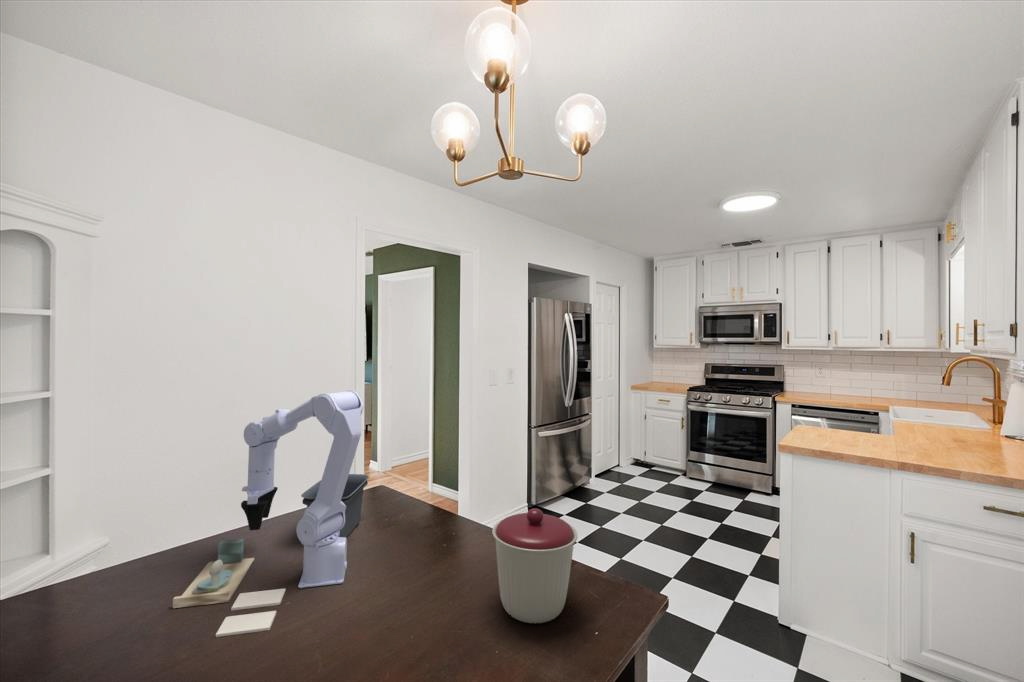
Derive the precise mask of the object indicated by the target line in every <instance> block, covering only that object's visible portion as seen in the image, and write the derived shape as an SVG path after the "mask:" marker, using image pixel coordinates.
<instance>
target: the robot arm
mask: <svg viewBox="0 0 1024 682" xmlns="http://www.w3.org/2000/svg"><path fill="white" fill-rule="evenodd" d="M364 406H365V405H364V403H363V401H362V399H361V396H360V395H359V393H357V392H356V391H355V390H352V389H351V390H345V391H340V392H339V391H338V392H332V393H331V392H330V393H327V392H326V393H319V394H318V395H315V396H312V397H311V398H310V399H308V400H307V401H305V402H303V403H302V404H300V405H299V406H297V407H295V408H293V409H292V410H290V409H288V408H286V409H285V408H278V409H276V410H275V411H274V412H275V413H274V414H272V415H269V416H264V417H263V418H262V420H261V421H257V422H255V421H254V422H249V423H248V424H247V425H246V426H245V427H244V430H243V439H244V440H243V441H244V442H245V443H246V445H247V446H248V459H247V460H248V461H247V462H248V463H247V464H248V465H247V485H246V486H243V487H242V488H241V491H242V492H246V494H247V500H242V501H241V502H240V506H241V507H240V508H241V509H242V510H243V512H244V514H245V516H246V519H247V524H248V529H249V530H250V531H259V530H260V529H261V527H262V525H263V524H262V523H263V519H266V518H267V519H268V518H269V515H270V511H271V509H272V504H273V500H274V497H275V495H276V493H277V492H278V488H279V487H277V486H275V481H274V480H275V456H276V455H275V452H276V451H275V450H276V448H277V447H278V441H279V440H280V438H281V437H282V436H285V435H287V434H289V433H291V432H293V431H295V430H296V429H297V428H298V425H299V423H301V422H302V421H303V422H304V421H305V420H307V419H309V418H312V417H313V418H314V417H315V418H316V420H317V421H318V422H319V423H320V424H321V425H322V427H324V429H325V430H326V431H327V433H329V434H331V435H332V436H333V439H332V443H331V446H330V451H329V454H328V455H327V459H326V463H325V467H324V471H323V473H322V476H321V483H320V486H319V490H318V493H317V496H316V499H315V501H314V502H313V503H312V504H311V505H310V506H309V507H308V508H307V507H306V509H305V510H304V512H303V516H302V517H301V519H300V520H298V522H297V525H296V536H297V538H298V540H299V542H300V543H301V545H303V564H302V565H303V567H302V569H303V571H302V575H301V578H300V581H299V583H298V586H297V587H298V588H299V589H303V588H304V589H305V588H311V587H313V588H314V587H321V586H330V585H338V584H343V583H344V582H345V581H344V580H345V575H346V570H347V567H348V561H347V548H348V546H347V544H348V540H347V539H348V537H347V538H346V537H338V536H339V535H340V530H341V529H342V528H343V527H344V524H345V510H346V505H345V504H344V503H343V502H342V501H341V498H342V495H343V492H344V489H345V485H346V482H347V479H348V475H349V474H350V472H351V468H352V465H353V463H354V459H355V456H356V452H357V449H358V445H359V443H360V440H361V439H360V438H361V436H362V422H361V421H362V419H361V418H362V414H363V410H364Z"/></svg>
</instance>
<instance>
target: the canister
mask: <svg viewBox="0 0 1024 682" xmlns="http://www.w3.org/2000/svg"><path fill="white" fill-rule="evenodd" d="M491 533H492V536H493V538H494V540H495V549H496V552H495V554H496V565H497V576H498V586H499V596H500V601H501V603H502V606H503V609H504V610H505V612H506V613H507V614H508V615H509V616H510V615H511V616H510V617H512V619H515V620H518V621H519V622H523V623H528V624H533V623H534V624H537V623H538V624H543V623H547V622H551V621H552V620H555V619H556V618H557V617H558V616H560V614H561V613H562V611H563V609H564V607H565V604H566V602H567V601H566V599H567V595H568V589H569V582H570V576H571V575H570V574H571V567H572V560H573V552H574V544H575V543H576V542H577V540H578V532H577V530H576V528H574V526H573V525H571V524H570V523H568V522H567V521H565V520H564V519H563V518H560V517H557V516H554V515H550V514H546V513H543V511H542V510H541V509H539V508H531V509H528V511H527V512H523V513H518V514H517V513H516V514H512V515H510V516H507V517H505V518H503V519H502V520H499V521H498V522H496V524H494V525H493V527H492V531H491Z"/></svg>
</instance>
